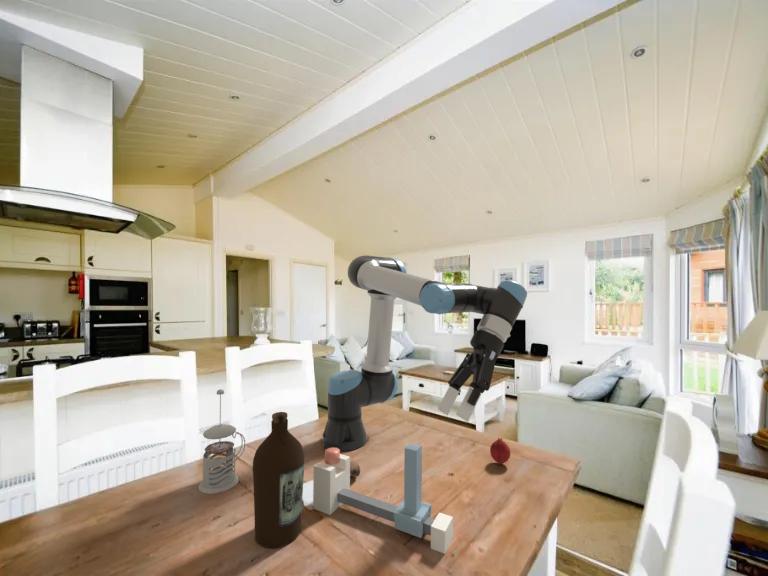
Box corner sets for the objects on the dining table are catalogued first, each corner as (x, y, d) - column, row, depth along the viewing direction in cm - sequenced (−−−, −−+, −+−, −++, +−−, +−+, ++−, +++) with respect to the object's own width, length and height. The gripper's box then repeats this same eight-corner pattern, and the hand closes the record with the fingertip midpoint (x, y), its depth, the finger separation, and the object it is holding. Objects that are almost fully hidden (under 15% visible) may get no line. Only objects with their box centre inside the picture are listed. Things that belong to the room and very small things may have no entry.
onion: (511, 470, 99) (511, 442, 99) (491, 467, 100) (491, 440, 100) (508, 460, 105) (508, 434, 105) (489, 458, 106) (489, 432, 106)
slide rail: (313, 508, 81) (313, 465, 81) (333, 491, 88) (334, 452, 88) (442, 559, 65) (442, 506, 66) (455, 533, 72) (455, 486, 73)
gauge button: (321, 462, 83) (321, 452, 83) (331, 456, 86) (331, 446, 86) (333, 466, 81) (333, 455, 81) (342, 459, 84) (342, 449, 84)
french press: (192, 483, 91) (194, 389, 92) (235, 467, 100) (237, 381, 100) (206, 498, 84) (208, 397, 85) (251, 480, 93) (252, 387, 93)
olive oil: (240, 539, 70) (242, 417, 71) (278, 510, 80) (280, 403, 80) (277, 558, 65) (279, 427, 66) (314, 525, 75) (315, 411, 75)
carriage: (393, 529, 71) (394, 449, 72) (406, 512, 77) (406, 438, 77) (420, 539, 68) (420, 456, 69) (431, 521, 74) (431, 444, 74)
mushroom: (332, 477, 88) (341, 452, 92) (323, 476, 95) (332, 452, 98) (359, 488, 90) (367, 463, 93) (348, 486, 96) (356, 463, 100)
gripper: (530, 339, 73) (488, 431, 67) (482, 349, 97) (448, 417, 90) (500, 320, 73) (455, 410, 67) (459, 335, 97) (424, 402, 91)
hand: (451, 415), depth 79 cm, fingers open, 13 cm apart
